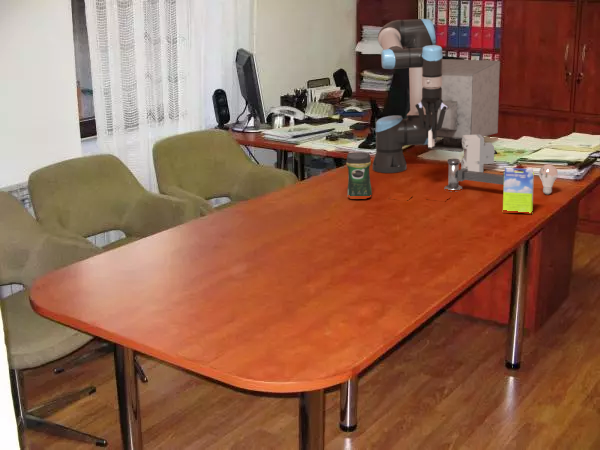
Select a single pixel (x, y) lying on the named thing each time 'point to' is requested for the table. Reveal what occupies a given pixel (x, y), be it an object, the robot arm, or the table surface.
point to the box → (518, 190)
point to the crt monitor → (468, 101)
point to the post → (453, 175)
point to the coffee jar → (359, 174)
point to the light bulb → (548, 177)
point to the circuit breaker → (476, 153)
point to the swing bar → (480, 176)
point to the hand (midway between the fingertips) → (431, 146)
